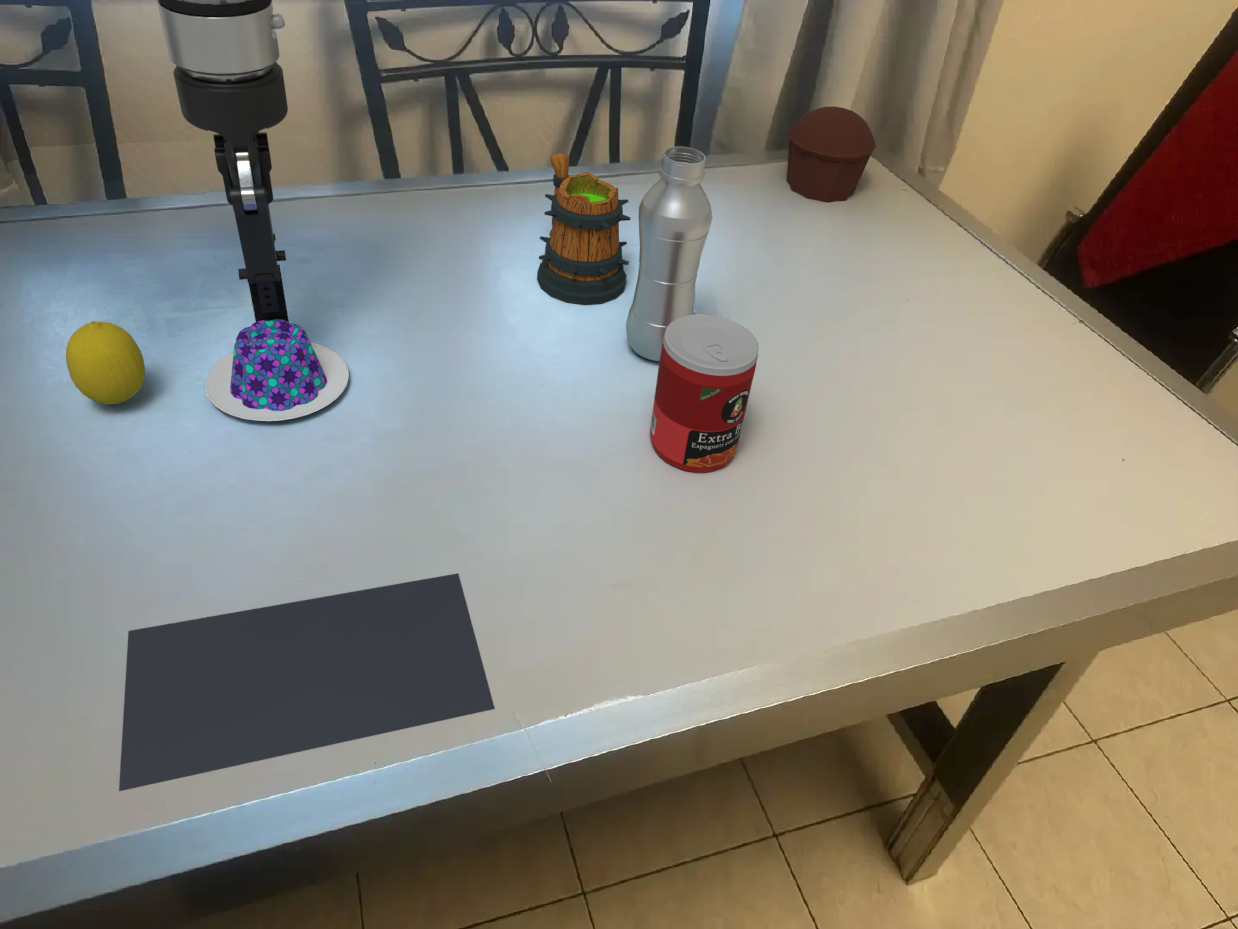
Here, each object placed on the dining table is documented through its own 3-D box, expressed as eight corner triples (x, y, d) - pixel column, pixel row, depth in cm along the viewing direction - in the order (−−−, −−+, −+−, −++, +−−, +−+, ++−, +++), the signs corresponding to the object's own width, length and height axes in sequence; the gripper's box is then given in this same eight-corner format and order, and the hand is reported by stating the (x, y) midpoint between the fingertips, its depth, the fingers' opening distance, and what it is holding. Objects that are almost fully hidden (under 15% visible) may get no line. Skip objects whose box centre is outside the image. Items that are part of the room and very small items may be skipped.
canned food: (691, 487, 79) (711, 380, 72) (629, 435, 83) (643, 329, 76) (755, 454, 83) (780, 349, 76) (693, 406, 88) (711, 303, 80)
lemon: (78, 426, 78) (49, 345, 72) (86, 386, 82) (59, 306, 76) (152, 419, 79) (128, 339, 74) (156, 380, 83) (134, 301, 78)
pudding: (344, 426, 81) (338, 376, 77) (194, 429, 79) (181, 378, 75) (353, 346, 90) (348, 297, 86) (219, 346, 88) (208, 297, 84)
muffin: (817, 162, 132) (834, 89, 126) (880, 193, 127) (901, 119, 120) (758, 180, 126) (773, 104, 120) (822, 214, 120) (841, 137, 114)
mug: (645, 296, 101) (658, 194, 94) (558, 313, 97) (564, 208, 90) (591, 239, 110) (599, 142, 102) (509, 253, 105) (510, 152, 98)
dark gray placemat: (119, 791, 55) (118, 791, 55) (128, 631, 63) (128, 630, 63) (494, 709, 61) (494, 708, 61) (458, 574, 70) (458, 573, 70)
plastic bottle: (680, 377, 91) (713, 178, 78) (613, 358, 92) (635, 160, 79) (698, 342, 96) (732, 150, 82) (634, 325, 97) (658, 133, 84)
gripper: (288, 95, 66) (325, 371, 82) (275, 32, 75) (311, 292, 90) (170, 99, 64) (232, 382, 79) (172, 33, 73) (227, 299, 88)
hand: (274, 333), depth 85 cm, fingers closed
